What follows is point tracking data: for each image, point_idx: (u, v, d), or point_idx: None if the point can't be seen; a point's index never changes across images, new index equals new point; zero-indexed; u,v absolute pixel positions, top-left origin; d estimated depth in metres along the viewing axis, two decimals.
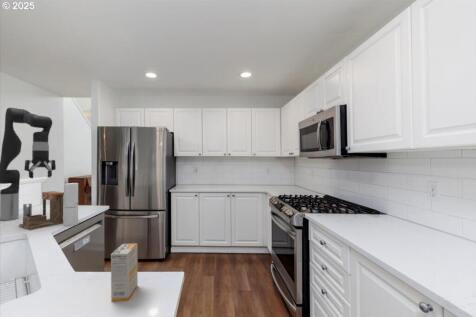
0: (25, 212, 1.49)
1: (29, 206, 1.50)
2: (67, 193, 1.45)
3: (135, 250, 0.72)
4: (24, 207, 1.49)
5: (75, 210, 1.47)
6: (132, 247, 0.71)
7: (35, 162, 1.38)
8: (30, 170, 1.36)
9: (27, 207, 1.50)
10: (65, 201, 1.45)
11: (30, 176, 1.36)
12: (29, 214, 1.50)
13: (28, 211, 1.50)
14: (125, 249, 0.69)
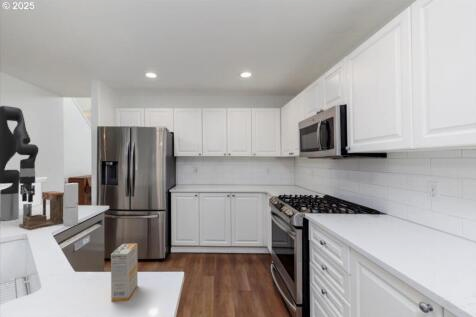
0: (25, 212, 1.49)
1: (29, 206, 1.50)
2: (67, 193, 1.45)
3: (135, 250, 0.72)
4: (24, 207, 1.49)
5: (75, 210, 1.47)
6: (132, 247, 0.71)
7: None
8: (33, 194, 1.50)
9: (27, 207, 1.50)
10: (65, 201, 1.45)
11: (32, 200, 1.49)
12: (29, 214, 1.50)
13: (28, 211, 1.50)
14: (125, 249, 0.69)
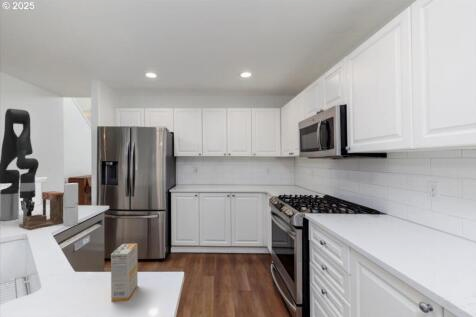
0: (25, 212, 1.49)
1: None
2: (67, 193, 1.45)
3: (135, 250, 0.72)
4: (24, 207, 1.49)
5: (75, 210, 1.47)
6: (132, 247, 0.71)
7: None
8: (32, 210, 1.51)
9: None
10: (65, 201, 1.45)
11: None
12: None
13: None
14: (125, 249, 0.69)
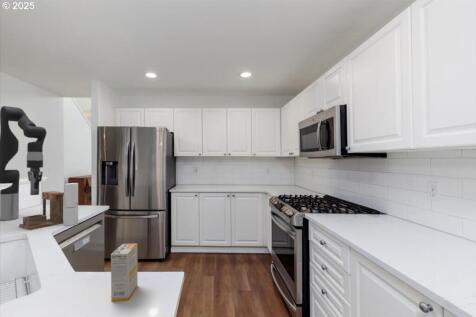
0: (32, 182, 1.42)
1: None
2: (67, 193, 1.45)
3: (135, 250, 0.72)
4: (31, 177, 1.42)
5: (75, 210, 1.47)
6: (132, 247, 0.71)
7: None
8: None
9: None
10: (65, 201, 1.45)
11: (38, 186, 1.43)
12: None
13: None
14: (125, 249, 0.69)
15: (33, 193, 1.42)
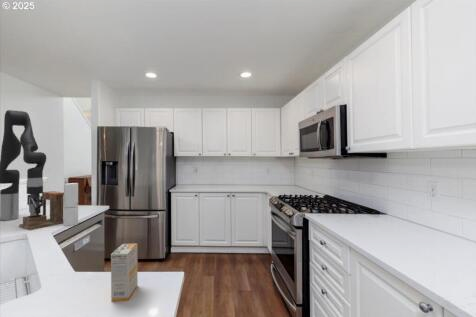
0: (32, 212, 1.42)
1: None
2: (67, 193, 1.45)
3: (135, 250, 0.72)
4: (31, 207, 1.42)
5: (75, 210, 1.47)
6: (132, 247, 0.71)
7: None
8: (41, 205, 1.42)
9: (34, 207, 1.42)
10: (65, 201, 1.45)
11: (40, 211, 1.42)
12: (36, 214, 1.43)
13: None
14: (125, 249, 0.69)
15: None
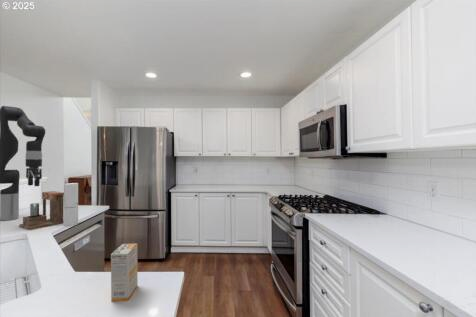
0: (32, 212, 1.42)
1: (36, 206, 1.43)
2: (67, 193, 1.45)
3: (135, 250, 0.72)
4: (31, 207, 1.42)
5: (75, 210, 1.47)
6: (132, 247, 0.71)
7: None
8: (40, 178, 1.43)
9: (34, 207, 1.42)
10: (65, 201, 1.45)
11: None
12: (36, 214, 1.43)
13: (35, 211, 1.43)
14: (125, 249, 0.69)
15: None
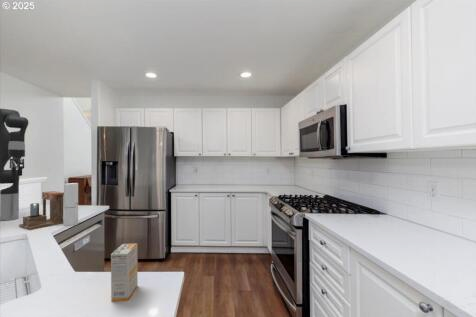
0: (32, 212, 1.42)
1: (36, 206, 1.43)
2: (67, 193, 1.45)
3: (135, 250, 0.72)
4: (31, 207, 1.42)
5: (75, 210, 1.47)
6: (132, 247, 0.71)
7: None
8: None
9: (34, 207, 1.42)
10: (65, 201, 1.45)
11: (21, 174, 1.46)
12: (36, 214, 1.43)
13: (35, 211, 1.43)
14: (125, 249, 0.69)
15: None
